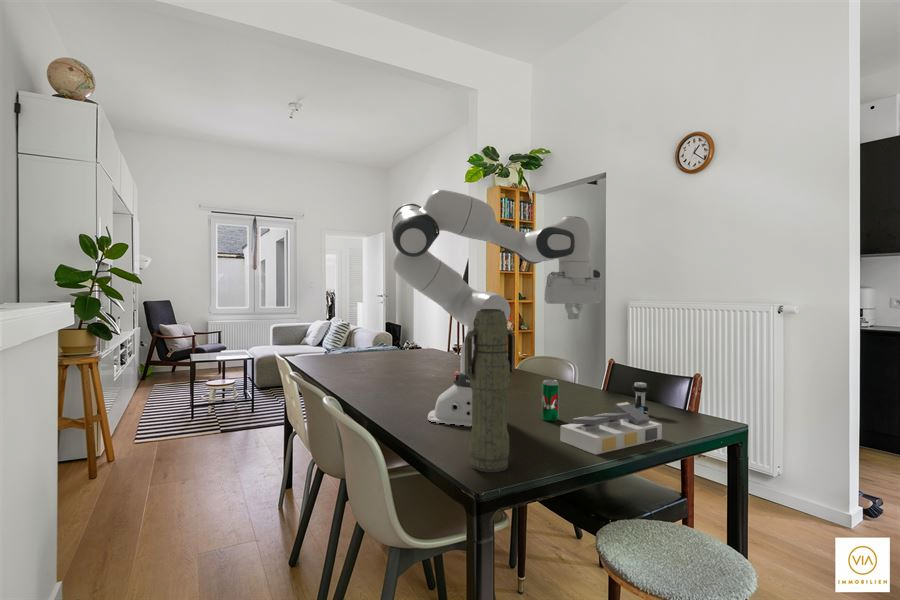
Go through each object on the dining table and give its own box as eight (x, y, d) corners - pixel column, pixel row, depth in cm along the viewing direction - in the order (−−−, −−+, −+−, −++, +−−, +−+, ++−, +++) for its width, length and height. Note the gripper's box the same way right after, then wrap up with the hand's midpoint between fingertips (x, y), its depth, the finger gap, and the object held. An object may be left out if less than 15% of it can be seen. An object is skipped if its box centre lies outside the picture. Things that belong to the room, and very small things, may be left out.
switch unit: (596, 455, 111) (596, 433, 111) (560, 440, 122) (560, 421, 122) (662, 439, 124) (662, 420, 124) (624, 427, 134) (624, 410, 134)
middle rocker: (617, 420, 118) (616, 414, 118) (594, 420, 125) (593, 415, 125) (630, 417, 121) (629, 412, 121) (607, 417, 127) (606, 413, 128)
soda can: (559, 418, 144) (559, 379, 144) (557, 422, 139) (558, 382, 139) (542, 416, 146) (543, 378, 145) (540, 421, 141) (541, 381, 141)
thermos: (456, 463, 105) (457, 308, 105) (498, 454, 111) (500, 308, 111) (477, 476, 98) (478, 310, 97) (522, 466, 103) (523, 309, 103)
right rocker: (636, 424, 123) (638, 420, 122) (614, 407, 129) (615, 403, 129) (648, 422, 125) (650, 418, 125) (626, 405, 132) (627, 401, 131)
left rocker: (595, 424, 114) (594, 419, 114) (572, 423, 121) (571, 418, 121) (609, 422, 117) (608, 416, 117) (586, 421, 123) (585, 416, 124)
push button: (655, 416, 147) (655, 385, 146) (640, 417, 145) (640, 386, 145) (642, 411, 153) (642, 381, 153) (627, 412, 152) (628, 381, 152)
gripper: (555, 270, 129) (554, 320, 129) (606, 273, 139) (605, 319, 140) (539, 271, 135) (539, 319, 135) (590, 273, 145) (589, 318, 145)
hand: (573, 319), depth 137 cm, fingers closed
